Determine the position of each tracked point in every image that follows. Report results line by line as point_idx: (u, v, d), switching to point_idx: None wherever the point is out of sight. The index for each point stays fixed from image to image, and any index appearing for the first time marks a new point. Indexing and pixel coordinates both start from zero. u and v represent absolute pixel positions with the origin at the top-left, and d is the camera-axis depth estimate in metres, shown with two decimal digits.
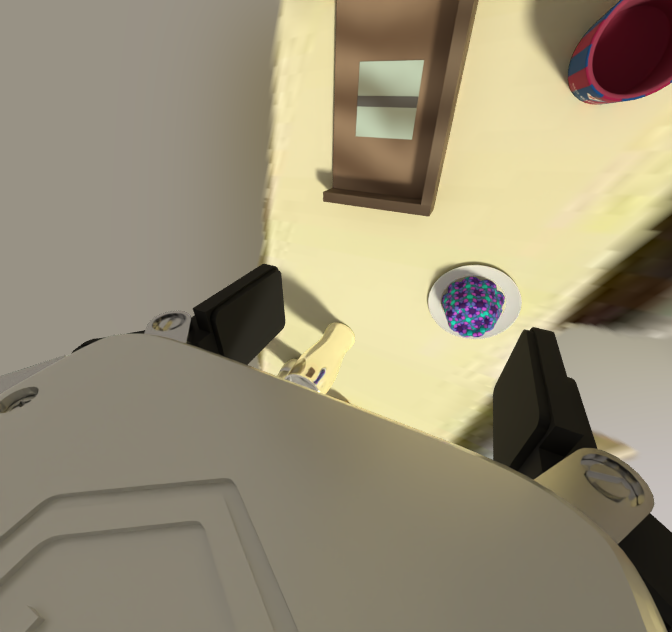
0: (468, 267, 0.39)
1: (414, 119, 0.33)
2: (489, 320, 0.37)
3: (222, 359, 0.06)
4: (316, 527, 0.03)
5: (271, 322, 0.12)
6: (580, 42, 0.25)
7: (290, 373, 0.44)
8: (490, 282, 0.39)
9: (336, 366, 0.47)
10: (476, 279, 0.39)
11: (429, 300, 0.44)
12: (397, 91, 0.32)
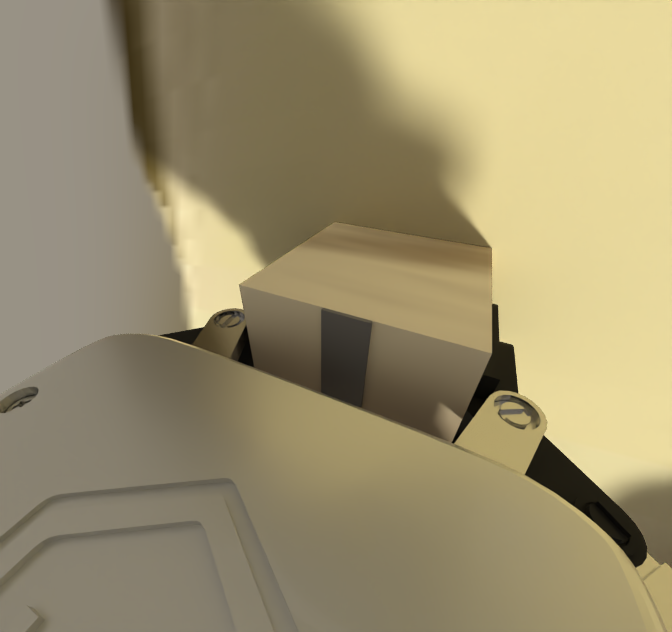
0: None
1: None
2: None
3: (222, 359, 0.06)
4: (316, 527, 0.03)
5: None
6: None
7: None
8: None
9: None
10: None
11: None
12: None
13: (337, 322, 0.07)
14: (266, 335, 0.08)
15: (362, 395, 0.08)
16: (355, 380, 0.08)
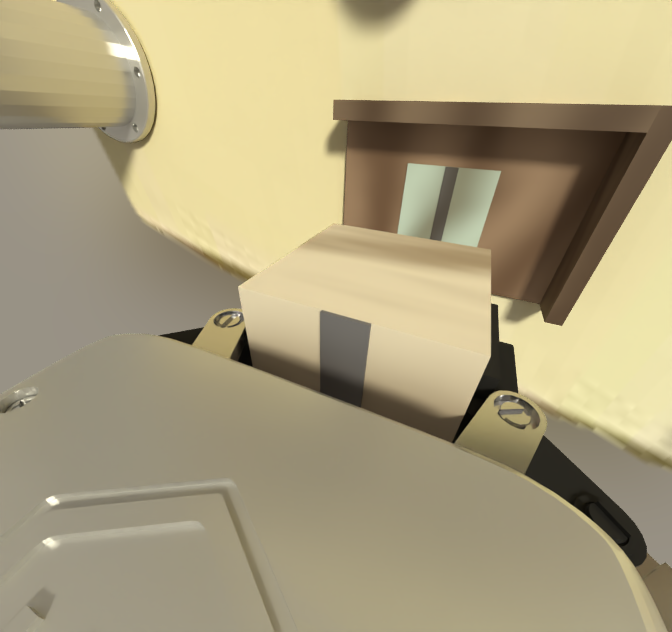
0: None
1: (473, 169, 0.22)
2: None
3: (222, 359, 0.06)
4: (316, 527, 0.03)
5: None
6: None
7: None
8: None
9: None
10: None
11: None
12: (433, 197, 0.24)
13: (336, 324, 0.07)
14: (265, 337, 0.08)
15: (361, 397, 0.08)
16: (354, 382, 0.08)
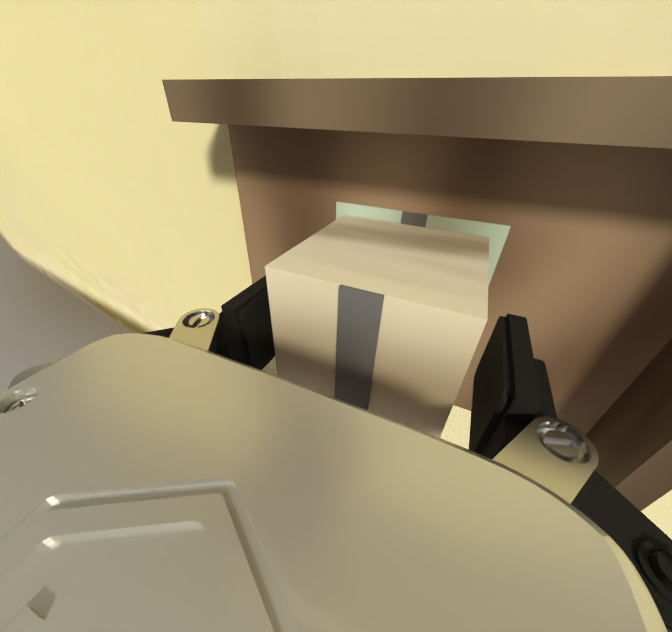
0: None
1: (455, 219, 0.11)
2: None
3: (222, 359, 0.06)
4: (316, 527, 0.03)
5: None
6: None
7: None
8: None
9: None
10: None
11: None
12: None
13: (353, 296, 0.08)
14: (287, 313, 0.09)
15: (373, 365, 0.09)
16: (367, 351, 0.09)
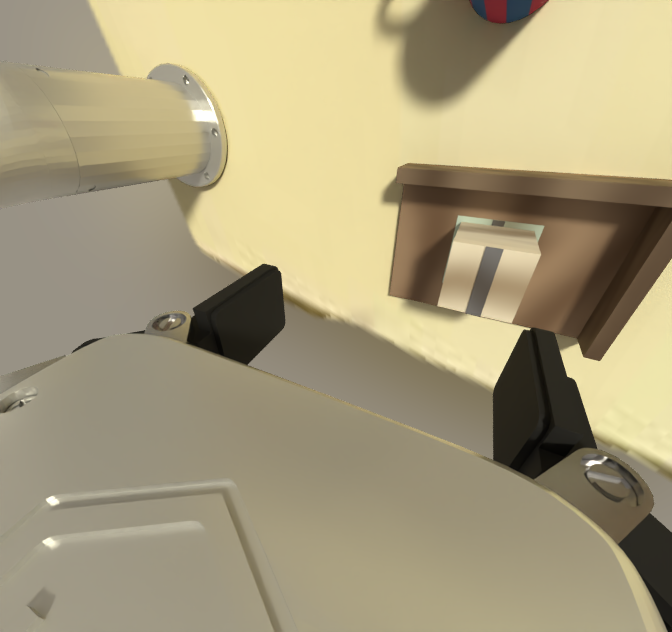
0: None
1: (518, 223, 0.25)
2: None
3: (222, 359, 0.06)
4: (316, 527, 0.03)
5: (271, 322, 0.12)
6: (491, 18, 0.20)
7: None
8: None
9: None
10: None
11: None
12: None
13: (491, 250, 0.22)
14: (457, 260, 0.23)
15: (492, 279, 0.23)
16: (491, 272, 0.23)
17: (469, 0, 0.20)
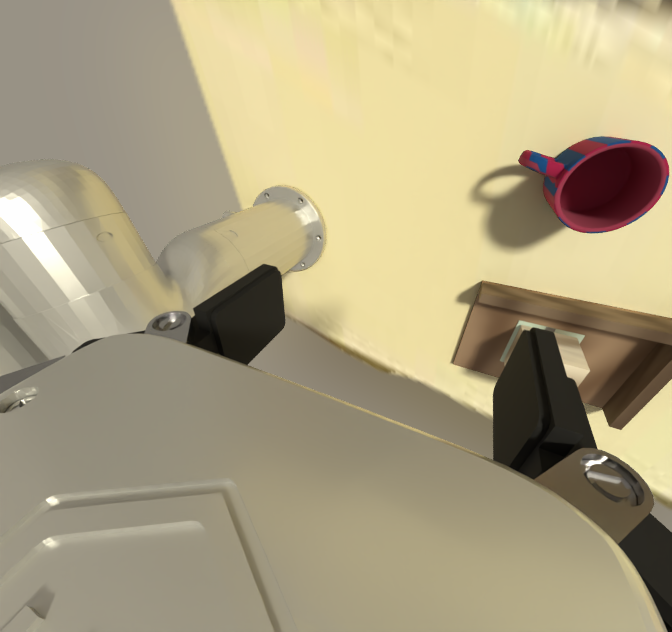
0: None
1: (565, 331, 0.35)
2: None
3: (222, 359, 0.06)
4: (316, 527, 0.03)
5: (271, 322, 0.12)
6: None
7: None
8: None
9: None
10: None
11: None
12: None
13: None
14: None
15: None
16: None
17: None
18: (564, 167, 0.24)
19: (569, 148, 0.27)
